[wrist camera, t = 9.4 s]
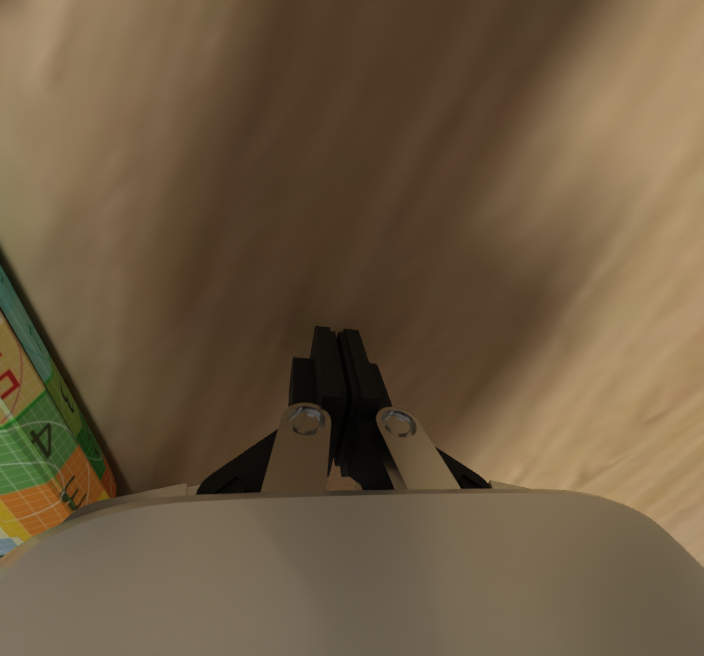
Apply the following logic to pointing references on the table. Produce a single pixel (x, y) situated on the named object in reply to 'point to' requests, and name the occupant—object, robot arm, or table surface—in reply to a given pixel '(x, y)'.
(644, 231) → the table surface
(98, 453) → the puzzle game
